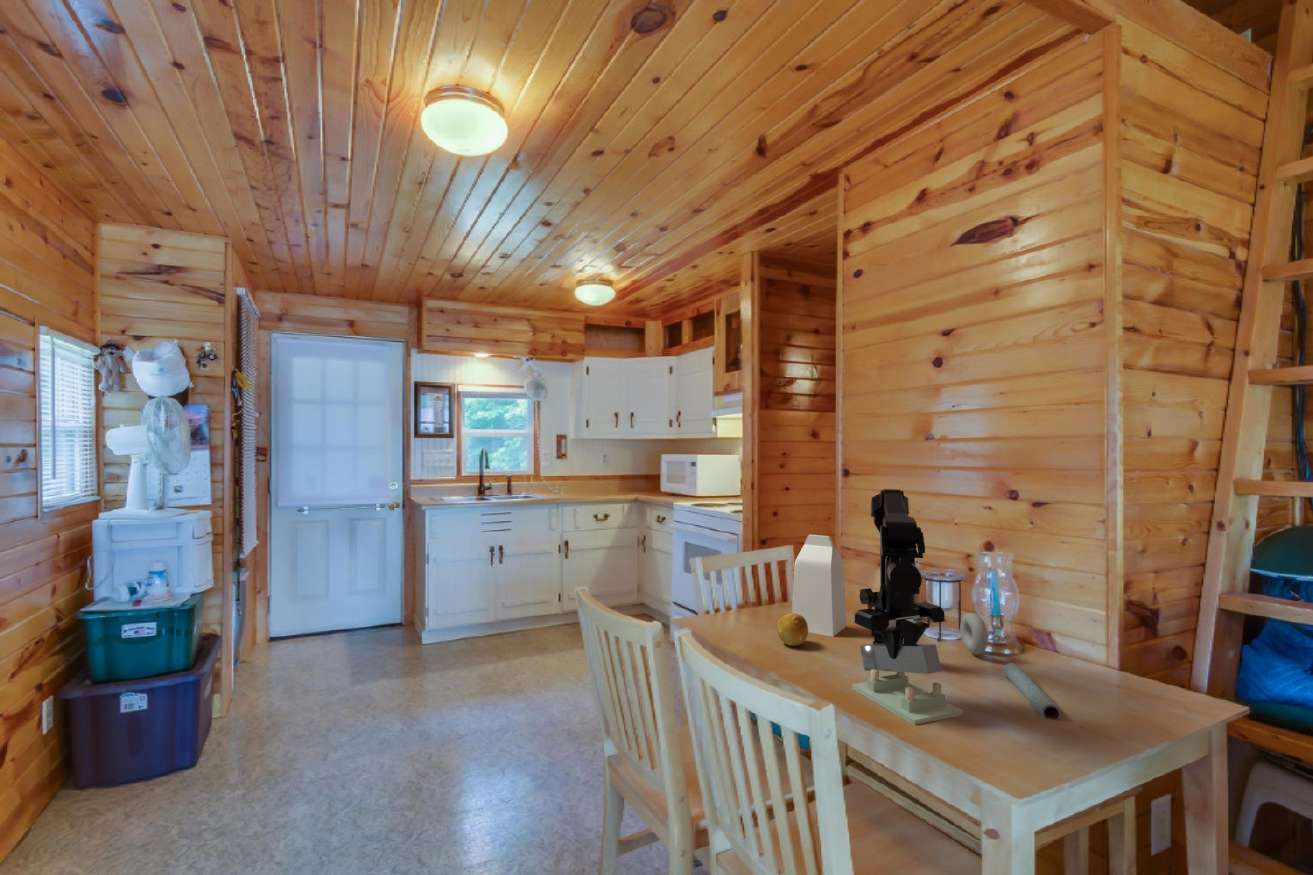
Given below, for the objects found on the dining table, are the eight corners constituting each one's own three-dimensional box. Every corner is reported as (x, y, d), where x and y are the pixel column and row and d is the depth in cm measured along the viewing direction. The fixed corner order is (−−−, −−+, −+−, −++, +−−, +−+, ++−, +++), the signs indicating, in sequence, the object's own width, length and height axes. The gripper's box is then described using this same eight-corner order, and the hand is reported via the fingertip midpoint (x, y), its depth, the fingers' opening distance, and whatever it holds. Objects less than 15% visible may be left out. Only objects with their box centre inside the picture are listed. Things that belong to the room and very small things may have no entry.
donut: (957, 646, 160) (957, 607, 160) (971, 646, 160) (971, 607, 160) (976, 660, 150) (976, 619, 150) (990, 660, 150) (990, 619, 150)
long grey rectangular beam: (879, 666, 138) (874, 643, 139) (945, 670, 121) (939, 643, 122) (859, 670, 136) (854, 646, 138) (923, 674, 119) (918, 646, 120)
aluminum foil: (1003, 677, 141) (1003, 662, 141) (1036, 679, 140) (1036, 664, 140) (1041, 721, 119) (1041, 703, 119) (1081, 725, 118) (1081, 707, 118)
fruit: (812, 650, 158) (812, 618, 158) (779, 649, 158) (779, 618, 158) (804, 639, 166) (805, 609, 166) (774, 639, 166) (774, 609, 166)
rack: (897, 681, 137) (897, 658, 137) (963, 715, 121) (963, 689, 121) (852, 688, 133) (852, 665, 133) (914, 725, 116) (914, 698, 116)
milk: (790, 628, 175) (791, 536, 175) (806, 618, 184) (806, 531, 184) (832, 636, 168) (833, 540, 168) (846, 626, 178) (846, 534, 178)
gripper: (907, 570, 139) (907, 639, 139) (837, 576, 133) (837, 650, 133) (946, 581, 129) (946, 656, 129) (873, 589, 122) (873, 668, 122)
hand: (899, 657), depth 128 cm, fingers closed on long grey rectangular beam, 3 cm apart
